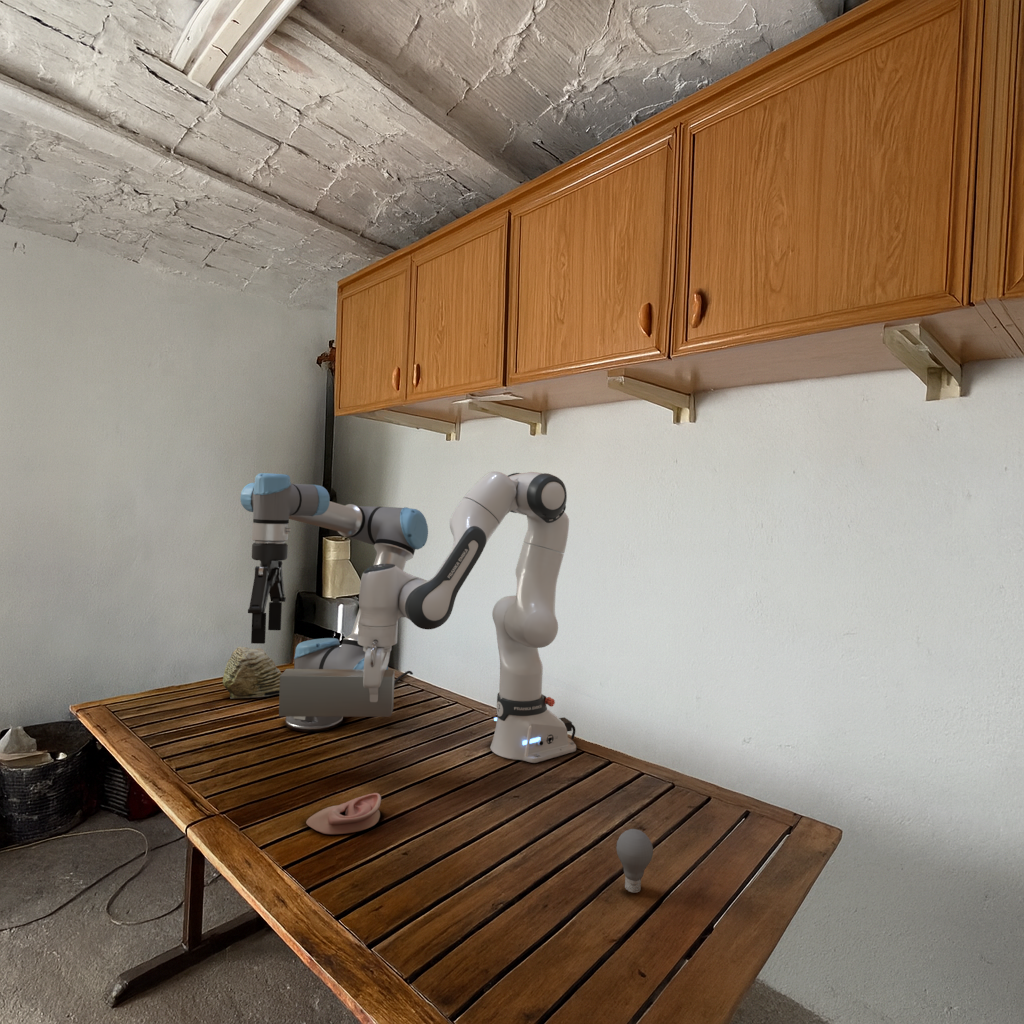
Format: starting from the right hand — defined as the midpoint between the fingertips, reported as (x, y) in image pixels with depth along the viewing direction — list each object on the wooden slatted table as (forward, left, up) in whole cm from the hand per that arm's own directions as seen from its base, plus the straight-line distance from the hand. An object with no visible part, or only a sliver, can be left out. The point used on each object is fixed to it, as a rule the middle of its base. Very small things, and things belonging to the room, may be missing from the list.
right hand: (375, 696), depth 144 cm
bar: (+8, -3, -4) cm, 9 cm away
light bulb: (-28, +58, -19) cm, 67 cm away
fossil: (+19, -70, -19) cm, 75 cm away
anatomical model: (+10, +17, -19) cm, 27 cm away
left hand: (+23, -10, +13) cm, 28 cm away
